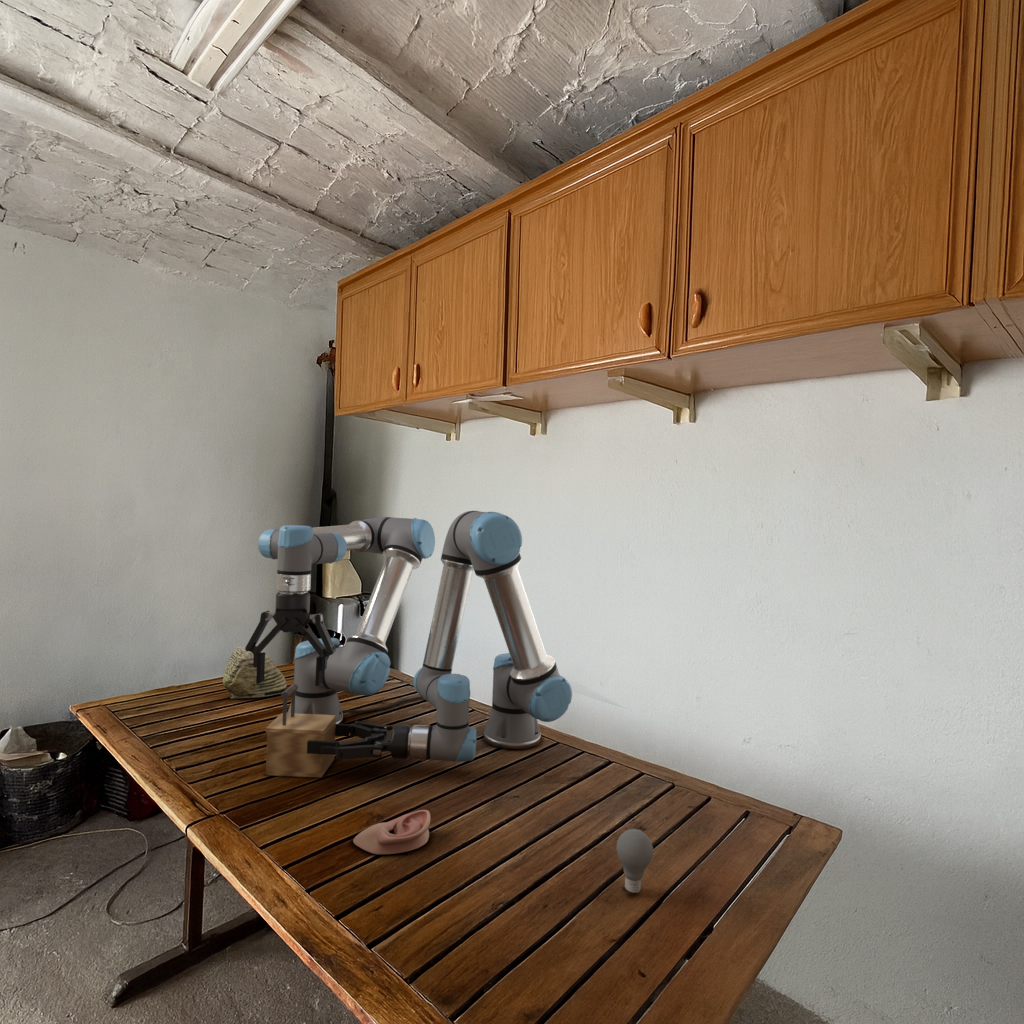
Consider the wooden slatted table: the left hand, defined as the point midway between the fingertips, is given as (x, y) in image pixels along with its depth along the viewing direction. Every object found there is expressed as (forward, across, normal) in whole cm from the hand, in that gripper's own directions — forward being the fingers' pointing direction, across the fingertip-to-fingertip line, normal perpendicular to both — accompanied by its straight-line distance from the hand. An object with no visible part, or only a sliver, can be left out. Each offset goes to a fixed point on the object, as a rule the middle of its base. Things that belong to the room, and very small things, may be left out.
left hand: (289, 683), depth 147 cm
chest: (+20, +4, 0) cm, 20 cm away
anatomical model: (+20, +30, -29) cm, 47 cm away
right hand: (+13, +6, 0) cm, 14 cm away
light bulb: (+20, +73, -42) cm, 86 cm away
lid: (+10, +3, 0) cm, 10 cm away
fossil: (+19, -28, +51) cm, 61 cm away
